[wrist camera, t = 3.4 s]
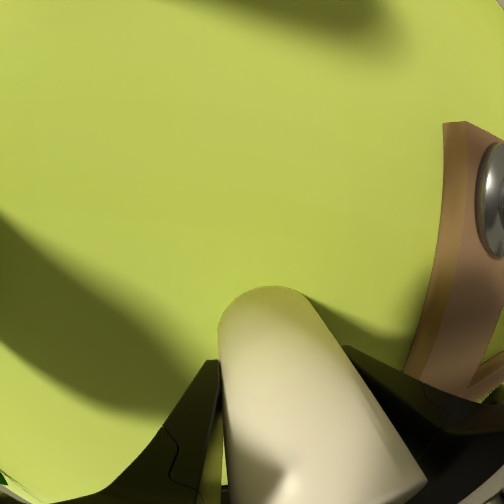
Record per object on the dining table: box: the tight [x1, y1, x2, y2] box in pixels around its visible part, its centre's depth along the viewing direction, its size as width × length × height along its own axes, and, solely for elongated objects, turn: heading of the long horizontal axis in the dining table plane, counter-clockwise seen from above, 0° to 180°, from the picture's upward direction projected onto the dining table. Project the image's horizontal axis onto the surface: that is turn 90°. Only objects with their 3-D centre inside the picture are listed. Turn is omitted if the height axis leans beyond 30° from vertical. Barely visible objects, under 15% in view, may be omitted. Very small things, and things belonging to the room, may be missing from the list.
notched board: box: [403, 121, 504, 402], centre depth 12 cm, size 20×17×2 cm
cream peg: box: [218, 286, 428, 504], centre depth 7 cm, size 4×4×8 cm
